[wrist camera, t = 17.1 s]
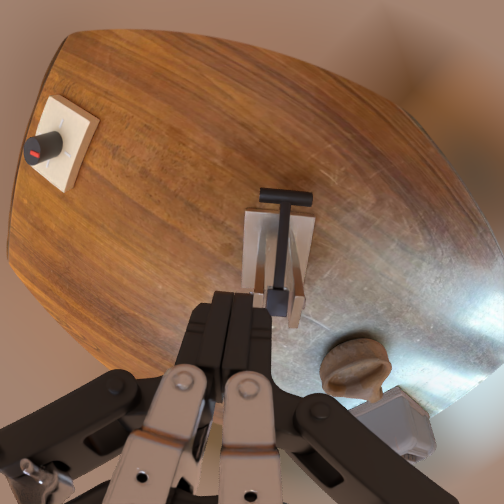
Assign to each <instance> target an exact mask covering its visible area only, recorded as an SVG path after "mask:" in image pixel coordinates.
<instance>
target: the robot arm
mask: <svg viewBox="0 0 504 504" xmlns="http://www.w3.org/2000/svg"><path fill="white" fill-rule="evenodd" d="M253 298H254V294H248V293H235V295H234V292H222V291H215V292H214V296H213V299H212V303H211V304H210V303H200V304H199V305H198V306H197V307H196V308H195V309H194V310H193V311H192V314H191V317H190V320H189V323H188V326H187V329H186V332H185V335H184V338H183V341H182V344H181V347H180V350H179V353H178V356H177V360H176V362H175V365H174V366H173V367H171V368H169V369H168V370H167V371H166V372H165V373H164V375H162V376H160V377H156V378H146V379H135V377H134V376H133V375H132V374H131V373H130V372H128V371H126V370H121V369H115V370H111V371H108V372H106V373H105V374H103V375H101V376H99V377H97V378H96V379H94V380H92V381H90V382H89V383H87V384H85V385H83V386H81V387H80V388H78V389H76V390H74V391H72V392H70V393H69V394H67V395H65V396H63V397H61V398H59V399H58V400H56V401H54V402H52V403H50V404H48V405H46V406H45V407H43V408H41V409H39V410H37V411H35V412H33V413H32V414H29V415H27V416H25V417H23V418H21V419H20V420H18V421H16V422H14V423H12V424H10V425H8V426H6V427H4V428H2V429H0V472H1V473H2V474H4V475H5V476H6V478H7V480H8V483H9V485H10V487H11V489H12V492H13V494H14V496H15V498H16V500H17V502H18V504H63V502H64V501H65V500H66V499H67V498H69V497H70V496H71V494H73V493H74V491H75V487H74V485H73V481H72V480H74V479H76V478H78V477H80V476H82V475H84V474H86V473H88V472H90V471H92V470H93V469H95V468H97V467H99V466H101V465H102V464H104V463H106V462H108V461H109V460H111V459H113V458H114V457H116V456H118V455H120V454H121V456H120V458H119V461H118V463H117V466H116V469H115V471H114V473H113V476H112V479H111V480H108V481H105V482H103V483H101V484H99V485H97V486H95V487H94V488H92V489H90V490H88V491H87V492H85V493H83V494H81V495H79V496H78V497H76V498H74V499H72V500H70V501H68V502H66V503H64V504H287V503H284V502H283V496H282V495H283V494H282V478H281V464H280V455H279V451H278V449H277V448H281V449H283V450H285V452H286V453H287V454H288V455H289V456H290V457H291V458H292V459H293V460H294V462H295V463H296V464H297V465H298V466H299V467H300V468H301V469H302V470H303V471H304V472H305V473H306V474H307V475H308V476H309V477H310V478H311V479H312V480H313V481H314V482H315V483H316V484H317V485H318V486H319V487H320V488H321V489H322V490H324V491H325V492H326V493H327V494H328V495H329V496H330V497H331V498H332V499H333V500H334V501H335V502H337V503H338V504H459V502H458V500H457V499H456V498H455V497H454V496H452V495H451V494H450V493H448V492H447V491H445V490H444V489H443V488H441V487H440V486H439V485H437V484H436V483H435V482H433V481H432V480H431V479H429V478H428V477H427V476H426V475H424V474H423V473H422V472H420V471H419V470H418V469H416V468H415V467H414V466H413V465H412V464H410V463H409V462H408V461H407V460H405V459H404V458H403V457H402V456H400V455H399V454H398V453H397V452H396V451H394V450H393V449H392V448H391V447H390V446H388V445H387V444H386V443H385V442H384V441H382V440H381V439H380V438H379V437H378V436H377V435H375V434H374V433H373V432H372V431H371V430H370V429H368V428H367V427H366V426H365V425H364V424H363V423H362V422H360V421H359V420H358V419H357V418H356V417H355V416H354V415H352V414H351V413H350V412H349V411H348V410H347V409H346V408H345V407H344V406H342V405H341V404H340V403H339V402H338V401H337V400H336V399H335V398H333V397H332V396H330V395H327V394H323V393H314V394H310V395H307V396H305V397H304V398H303V397H299V396H296V395H293V394H290V393H287V392H285V391H283V390H281V389H280V388H279V387H278V386H277V385H276V384H275V383H274V381H273V379H272V376H271V341H272V340H271V338H272V317H271V316H270V314H269V312H268V310H267V308H258V307H253ZM223 395H224V414H223V434H222V448H221V453H220V469H219V495H216V496H196V492H197V489H198V485H199V481H200V476H201V464H202V460H203V456H204V452H205V448H206V444H207V440H208V437H209V433H210V429H211V425H212V421H213V414H214V408H215V402H217V403H222V402H223Z"/></svg>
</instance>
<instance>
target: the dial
mask: <svg viewBox="0 0 504 504" xmlns="http://www.w3.org/2000/svg"><path fill="white" fill-rule="evenodd" d="M62 147H63V140H62V137H61V135H60V134H59V133H58V132H56V131H52V132H48V133H44V134H41V135H37V136H34V137H30V138H29V139H27V141H26V142H25V145H24V158H25V160H26V162H27V163H28V164H29V165H31V166H34V165H37V164H39V163H41V162H44V161H46V160H49V159H52V158H54V157H57V156H58V155H59V154H60V153H61V151H62Z"/></svg>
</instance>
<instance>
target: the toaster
mask: <svg viewBox="0 0 504 504" xmlns="http://www.w3.org/2000/svg"><path fill="white" fill-rule="evenodd" d="M348 411H349V412H350V413H351V414H352V415H354V416H355V417H356V418H357V419H358V420H359V421H360V422H362V423H363V424H364V425H365V426H366V427H367V428H368V429H370V430H371V431H372V432H373V433H374V434H375V435H377V436H378V437H379V438H380V439H381V440H382V441H384V442H385V443H386V444H387V445H388V446H390V447H391V448H392V449H393V450H394V451H396V452H397V453H398V454H399V455H400V456H402V457H403V458H404V459H405V460H407V461H408V462H409V463H410V464H414V463H417V462H419V461H421V460H423V459H425V458H427V457H428V456H430V455H432V454H433V453H434V451H435V450H436V442H435V438H434V434H433V431H432V427H431V424H430V421H429V418H430V416H429V414H428V413H427V412H426V411H425V410H424V409H423V408H422V407H421V406H419V405H418V404H417V403H416V402H415V401H414V400H413V399H412V398H410V397H409V396H408V395H407V394H406V393H405V392H404V391H402V390H401V389H400V388H399V387H397V386H396V387H394V388H393V389H391V390H389V391H387V392H385V393H383V397H382V399H381V400H379V401H377V402H375V403H370V402H369V401H368V402H365V403H363V404H361V405H359V406H357V407H355V408H353V409H350V410H348Z"/></svg>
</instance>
